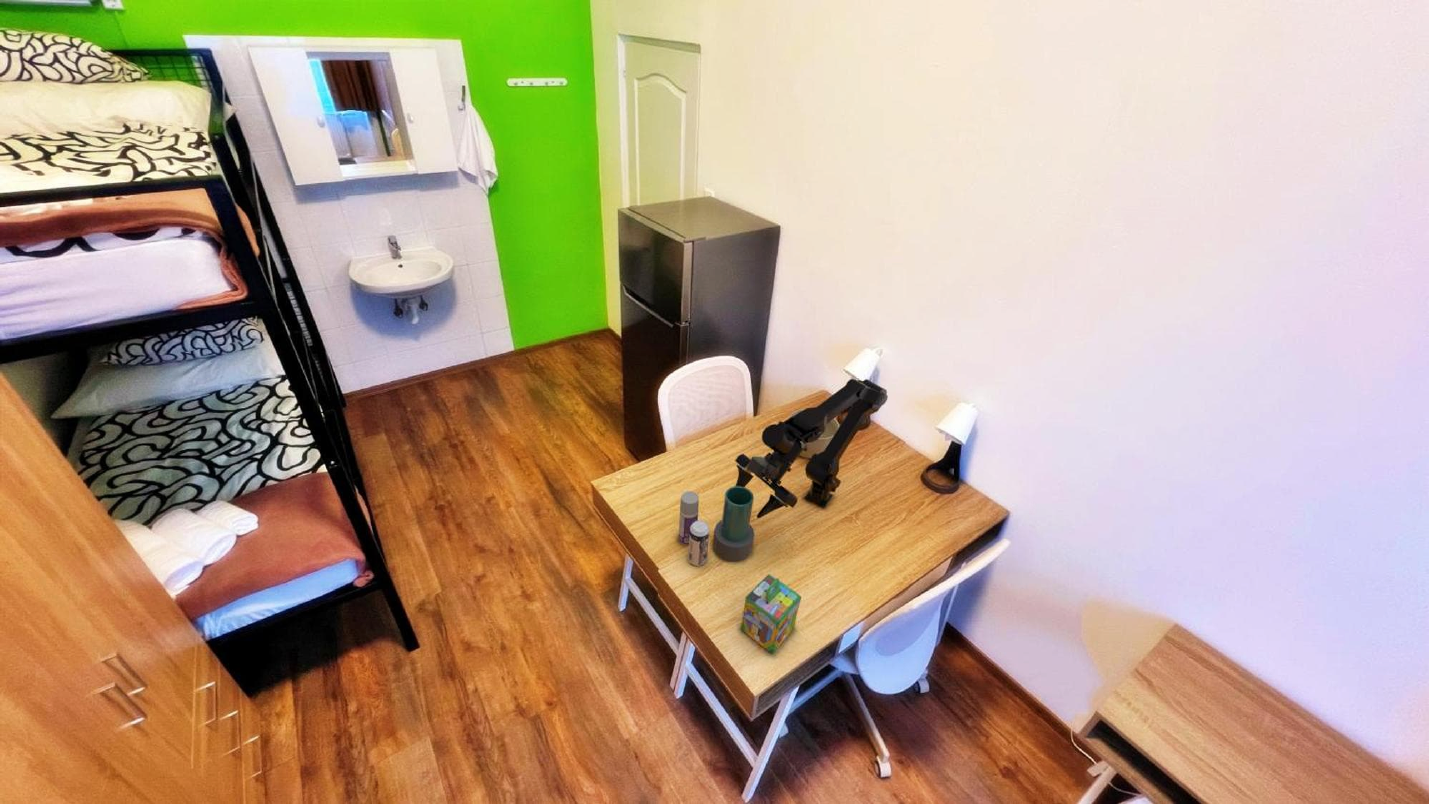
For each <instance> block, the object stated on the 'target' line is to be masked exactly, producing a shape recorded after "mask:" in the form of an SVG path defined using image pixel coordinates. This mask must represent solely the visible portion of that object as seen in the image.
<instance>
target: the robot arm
mask: <svg viewBox="0 0 1429 804" xmlns="http://www.w3.org/2000/svg"><path fill="white" fill-rule="evenodd" d="M888 398H889V397H888V390H887V389H886V388H884V387H882V386H881V385H879V384H877V383H875V382H874V381H872V380H870V379H868V378H866V379H864V380H862V379H859V378H849V380H848V381H847V382H846V384H845V385H844V386H843V387H841V388H840V389H838V390H837V391H835V393H833V394H832V395H831V396H829V397H828V398H827V399H825V400H824V401H823V402H821V403H820V404H819V405H817V406H814V407H807V408H803V409H804V410H803V409H802V410H803V411H801V412H799V413H797V414H796V415H794V416H792V417H791V418H789V417H788V418H787V419H785V420H784V421H782V420H780V421H779V422H778V423H774V424H770V425H768V426H766V427H765V428H763V431H762V434H761V441H762V443H763V444H764V445H765V446H766V447H768V448H769V449H771V450H772V452H767V454H766V455H765V456H759V455H757V456H756V455H755V456H753V455H752V456H751V457H749V456H748V455H746V454H744V453H741V454H739V455H737V457H736V458H735V460H734V462H735V463H737V464H736V468H737V471H738V472H737V473H738V475H737V479H736V483H735V486H741V487H745V488H746V487H747V485H748V484H749V483H750V482H751V481H752V480H753V478H754V476H755V477H757V478H758V479H759V480H761V481H762V482H763V483H764V484H765V485H766V486H768V487H769V489H771V490H773V492H774V494H771V493H770V494H769V497H768V500H767V502H766V503H765V504H764V505H763V506H762V508H761V509H759V512H758V513H757V515H756V518H757V519H761V518H763V517H764V516H766V515H768V514H770V513H773V512H774V511H776V510H779V509H780V508H784V507H785V508H788V507H791V508H792V509H793V508H795V506H796V505H797V503H798V496H797V495H795V494H794V493H793V492H792V491H791V490H790V489H788V488H786V487H785V486H783V485H781V484H782V482H783V481H782V479H783V477H785V475H786V473H787V472H788V473H790V472H791V471H792V468H791V466H792V465H793V464H794V463H795V461H796V460H797V459H798V457H799V456H800V453H801V452H802V451H803V450H804V451H805V452H806V451H807V443H808V442H814V441H816V440H817V439H819V437H820V436H821V435H822V434H823V433H824V432H825V429H826V426H827V424H828V423H829V422H830V421H831V420H832V419H836V417H838V416H839V415H840V414H842V413H843V412H844V411H846V410H847V409H848V408H849V407H851V408H850V409H849V411H848V412H847V414H846V416H845V417H844V418H843V420H842V422H841V423H840V424H839V428H838V430H837V431H836V433H835V434H834V436H833V437H832V439H831V441H830V442H829V444H828V445H827V447H826V448H825V450H824V451H823V452H821V453H819V454H816V453H815V454H814V455H813V456H812V458H809V461H808V462H807V463H806V465H805V467H804V471H805V476H806V478H808V479H809V480H811V485H810V489H809V491H808V492H807V493H806V495H805V496H804V500H805V501H807V502H809V503H811V504H814V505H816V506H818V507H821V508H822V509H825V508H826V507H827V505H828V504H829V502H830V501H831V500H832V498H833V496H834V495H833V494H832V493H835V492H836V491H837V489H838V488H839V487H840V485H841V482H842V480H840V478H838V477H837V476H838V474H839V471H840V460H841V458H842V456H843V455H844V453H845V452H846V450H847V449H848V447H849V446H850V444H851V442H852V441H853V439H854V438H855V436H856V435H857V433H858V432H859V430H860V429H861V427H862V425H863V423H864V422H865V421H866V419H867V418H868V417H869V416H871V415H873V414H876V413H877V412H879V410H880V409H881V408H882V406H884V405H885V404H886V403H887V401H888ZM753 474H754V475H753Z"/></svg>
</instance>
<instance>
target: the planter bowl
mask: <svg viewBox="0 0 1429 804" xmlns="http://www.w3.org/2000/svg"><path fill="white" fill-rule="evenodd" d="M804 409H805V408H803V409H798V410H795V411H793V412H792V413H790V415H789V416H788V419H789V418H791V417H792V416H794V415H796V414H797V413H799V412H801V411H803V410H804ZM839 426H840V424H839V422H838V421H837V420H836V418H834V419H832V420H831V421H830V422H829V423H828V424H827V426H826V429H825V432H824V433H823V434H822V435H821V436H820V437H819V439H817V440H816V441H814V442H808V443H807V451H806V452H805V451H804V450H803V451H802V452H801V453H800V455H799V456H800V457H802V458H804V459H811V458H812V456H813V455H814V454H815V453H816V454H819V453H821V452H823V451H824V450H825V448H826V447H827V445H828V444H829V442H830V441H831V439H832V437H833V436H834V434H835V433H836V431H837V430H838V428H839Z"/></svg>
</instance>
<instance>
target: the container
mask: <svg viewBox="0 0 1429 804" xmlns="http://www.w3.org/2000/svg"><path fill="white" fill-rule="evenodd" d="M680 495H681V496H680V504H679V506H680V507H679V519H678V536H677V540H678V542H679V544H681V545H683V546H685V547H689V538H690V527H691V525H692V524H693V523H694V522H695V521H697V520H699V503H700V501H699V500H700V497H699V494H698V493H697V492H695V491H692V490H688V491H684V492H683V493H682V494H680Z"/></svg>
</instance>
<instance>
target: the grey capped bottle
mask: <svg viewBox="0 0 1429 804" xmlns="http://www.w3.org/2000/svg"><path fill="white" fill-rule="evenodd" d="M710 530H711V529H710V525H709V524H708V523H707V522H706V521H704V520H702V519H698V520H697V521H695V522H694V523H693V524H692V525H691V527H690V538H689V546H688V554H687V555H688V556H687V559H688V562H689V563H690V564H692V565H694V566H697V567H698V566H702V565H704V564H705V563H706V562H707V560H708V551H709V541H710V540H709V539H710Z"/></svg>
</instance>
